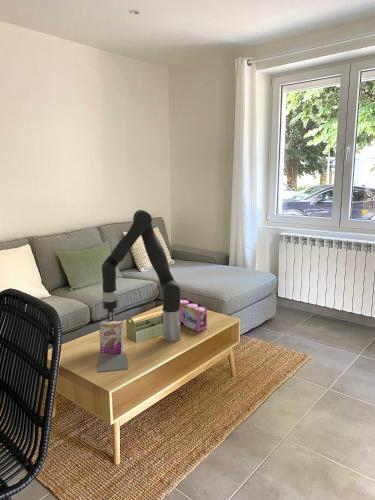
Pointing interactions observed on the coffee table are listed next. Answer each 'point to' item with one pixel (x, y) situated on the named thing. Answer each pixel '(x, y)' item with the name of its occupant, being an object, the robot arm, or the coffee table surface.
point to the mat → (112, 362)
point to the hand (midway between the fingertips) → (111, 329)
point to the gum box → (193, 315)
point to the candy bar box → (111, 337)
